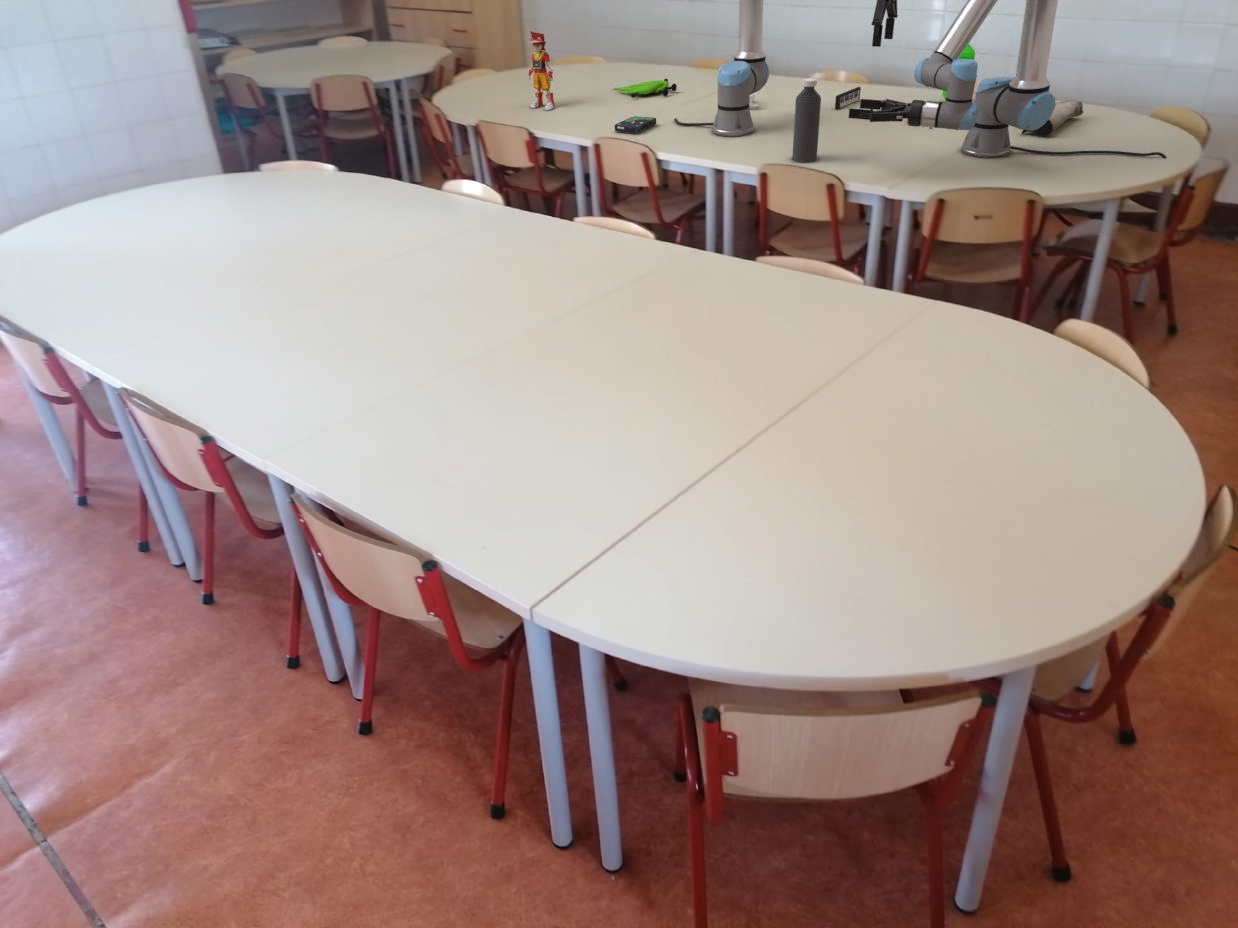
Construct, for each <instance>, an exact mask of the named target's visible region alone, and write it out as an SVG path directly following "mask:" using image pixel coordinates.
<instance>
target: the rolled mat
mask: <svg viewBox="0 0 1238 928" xmlns="http://www.w3.org/2000/svg"><path fill="white" fill-rule="evenodd" d="M1083 114H1084V110H1083V102H1082V101H1081V100H1075V99H1074V100H1066V101H1065V100H1064V101H1059V102H1055V108H1054V111H1053V114H1052V115H1051V117H1050V118H1049V120H1048V121H1047V122H1046V123H1045V124H1044V125H1043V126H1042V127H1040V128H1039V129H1036V130H1032V131H1028V130H1022V131H1021V135H1024V134H1026V133H1033V134H1034V135H1035V136H1038V137H1043V138H1044V137H1045V138H1046V137H1049V136H1050V135H1052V134H1053V133H1054V132H1055V131H1056V130H1057V129H1058V128H1059V127H1060V126H1061V125H1063V124H1064V123H1065V122H1066V121H1067V120H1069V119H1070V118H1075V117H1080V116H1082V115H1083Z"/></svg>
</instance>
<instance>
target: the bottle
mask: <svg viewBox="0 0 1238 928" xmlns="http://www.w3.org/2000/svg"><path fill="white" fill-rule="evenodd" d="M821 105H822V96H821V95H820V94H819V92H818V91H817V90H816V88H815V86H813V87H804V86H803V89H802V90H801V91H800V92H799V93H798V95H796V98H795V105H794V107H795V108H794V122H793V125H794V126H793V138H792V139H793V141H792V158H791V159H792V161H793V162H796V163H812V162H816V161H817V159H818V148H819V147H818V146H819V134H820V118H821V107H822V106H821Z"/></svg>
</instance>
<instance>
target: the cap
mask: <svg viewBox="0 0 1238 928" xmlns="http://www.w3.org/2000/svg"><path fill="white" fill-rule="evenodd" d="M817 82H818V79H817V78H814V77H808V78H807V77H805V78H803V79H802V81H801V85H802V87H803V88H804V87H813V86H814V87H816V86H817Z"/></svg>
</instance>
